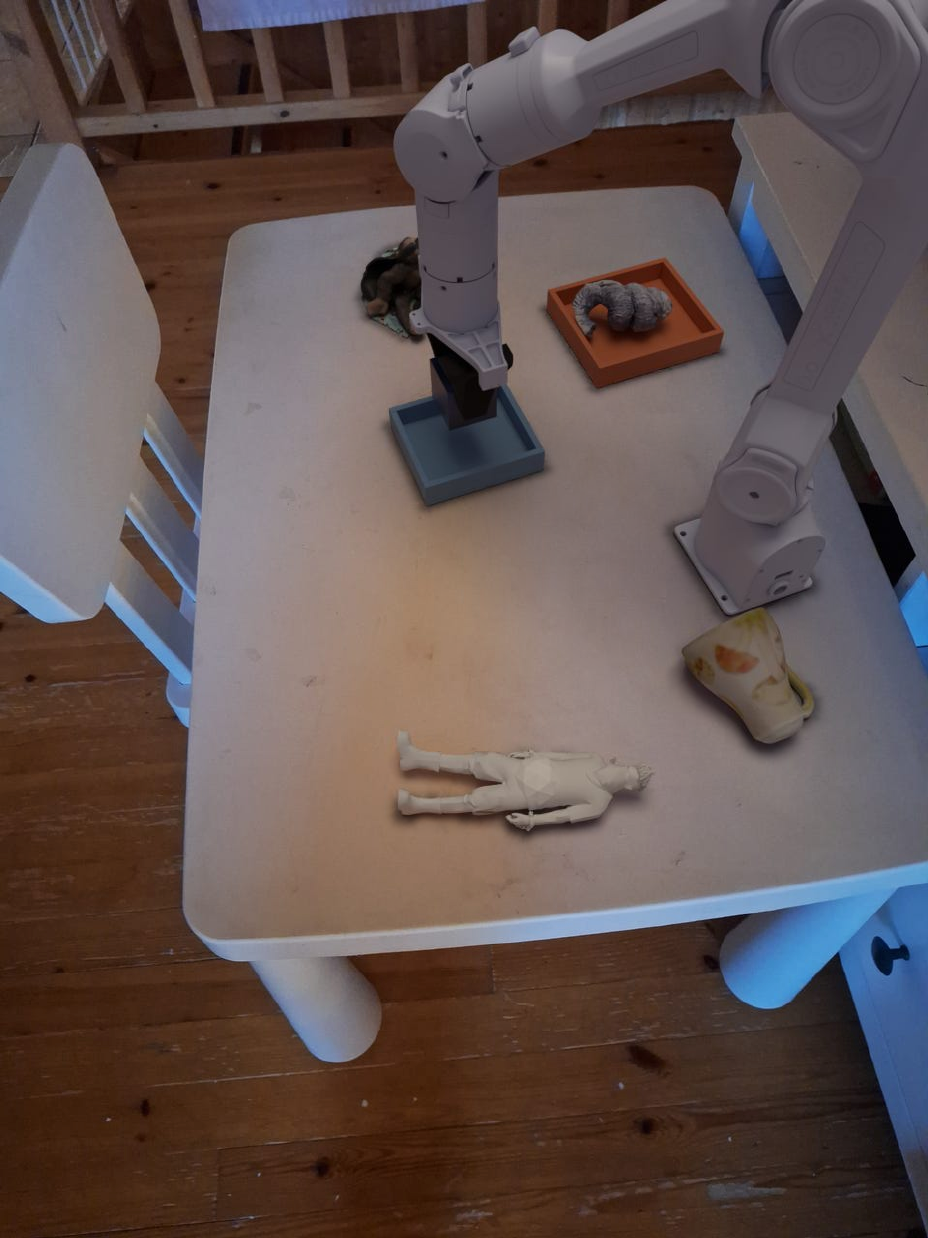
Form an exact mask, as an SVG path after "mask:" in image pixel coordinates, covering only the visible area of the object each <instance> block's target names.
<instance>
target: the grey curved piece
mask: <svg viewBox="0 0 928 1238" xmlns="http://www.w3.org/2000/svg"><path fill="white" fill-rule="evenodd" d="M599 304H602V305H603V306H605V307H606V308H607V309H608V312H607V317H608V322H609V325H610V327H611V328H612V329H613V330H617V331H624V330H625V329H627V328H628V327H629V326H630V327H631V328H632V329H633V330H634V332H642V331H647V330H651V329H653V328H655V325H656V324H658V323H659V322H660V321H661V320H663V319H665V318H666V317H667V316H668V315H669V313H670V312H671V308H672V307H673V304H672V303H671V301H670V298H669V297H668V296H667V294H666V293H665V291H664V290H658V289H657V288H655V287H648V288H645V287H644V286H642V285H640V284H637V283H635V282H634V283H629V284H627V285H625V286H623V285H622V284H621V283H619V282H616V281H613V280H601V281H598V282H594V283H589V284H588V283H587V284H585V285H584V287H583V288H582V289H581V290H580V291H579V292H578V294H577V295H576V296H575V299H574V301H573V302H572V306H573V309H574V314H575V318H576V321H577V323H578V325H579V326H580V328H581V330H582V331H583V333H584V335H587V336H593V332H594V330H595V329H596V328H597V327H596V325H597V324H595V323H594V322H592V321H591V320H590V318H589V316H588V314H589V312H590V311H591V310H592V309H593V308H594V307H596V306H597V305H599Z"/></svg>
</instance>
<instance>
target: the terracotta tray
mask: <svg viewBox="0 0 928 1238" xmlns="http://www.w3.org/2000/svg"><path fill="white" fill-rule="evenodd" d="M601 280H613V281H616V282H619V283H621V284H622V285H623V286H625V285H627V284H629V283H634V282H635V283H637V284H640V285H642V286H644V287H645V288H648V287H655V288H657V289H658V290H664V291H665V293H666V294H667V296H668V297H669V298H670V301H671V303H672V304H673V307H672V308H671V312H670V313H669V315H668V316H667V317H666V318H665V319H663V320H661V321H660V322H659V323H658V324H656V325H655V328H653V329H651V330H647V331H642V332H634V330H633V329H632V328H631V327H630V326H629V327H628V328H627V329H625V330H624V331H617V330H613V329H612V328H611V327H610V325H609V322H608V317H607V312H608V309H607V308H606V307H605V306H603V305H602V304H599V305H597V306H596V307H594V308H593V309H592V310H591V311H590V312H589V314H588V316H589V318H590V320H591V321H592V322H594V323H595V324H597V325H596V327H597V328H596V329H595V330H594V332H593V336H587V335H584V333H583V331H582V330H581V328H580V326H579V325H578V323H577V321H576V318H575V314H574V309H573V306H572V302H573V301H574V299H575V296H576V295H577V294H578V292H579V291H580V290H581V289H582V288H583V287H584V285H585V284H587V283H588V284H589V283H594V282H598V281H601ZM546 296H547V297H546V298H547V299H546V311H547V313H548V315H549V316H550V317H551V319H552V321H553V322H554V324H555V326H556V327H557V328H558V330H559V331H560V333H561V335H562V336H563V338H564V339H565V341H566V342H567V344H568V345H569V347H570V349H571V350H572V352H573V353H574V355H575V356H576V358H577V359H578V361H579V363H580V364H581V365H582V368H583V369H584V370H585V372H586V373H587V375H588V376H589V378H590V379H591V381H592V383H593V384H594V386H595V387H596V388H597V389H599V388H602V387H603V388H604V387H606V386H610V385H612V384H617V383H620V382H623V381H626V380H630V379H632V378H636V377H639V376H643V375H646V374H649V373H653V372H656V371H659V370H663V369H666V368H670V367H673V366H676V365H679V364H682V363H686V362H690V361H693V360H697V359H699V358H703V357H706V356H710V355H713V354H716V353H719V352H720V350H721V346H722V342H723V338H724V335H725V330H724V329H723V328H722V327H721V326H720V324H719V323H718V322H717V320H716V319H715V318H714V316H713V315H712V314H711V313H710V311H708V309H707V308H706V307H705V305H704V304H703V303H702V301H701V300H700V299H699V298H698V297H697V295H696V294H695V292H693V290H692V289H691V288H690V287H689V285H688V284H687V283H686V282H685V280H684V279H683V278H682V277H681V275H680V274H679V272H678V271H677V270H676V268H675V267H674V266H673V265H672V264H671V262H670V261H669V260H668V258H667V257H665V256H664V257H661V258H658V259H654V260H651V261H647V262H644V263H640V264H635V265H632V266H627V267H625V268H621V269H618V270H615V271H610V272H607V273H603V274H600V275H597V276H593V277H589V278H585V279H581V280H578V281H575V282H571V283H568V284H567V283H566V284H564V285H560V286H556V287H553V288H548V289H547V294H546Z"/></svg>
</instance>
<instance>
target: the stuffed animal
mask: <svg viewBox="0 0 928 1238" xmlns="http://www.w3.org/2000/svg"><path fill="white" fill-rule="evenodd" d="M418 255H419V243H418V236H415V237H412V236H406V237H405V238H404V239H402V241H401V242H399V244H398V246H397V247H392V248H390V249H387V250H386V251H385V252H384V253H382V254H381V256H377V257H375V258H373V259H372V260H371V261H369V262H368V264H367V265H366V266H365V271H364V272H363V274H362V278H361V280H360V291H361V294H362V296H361V299H362V301H363V302H364V305H365V310H366V314H367V316H368V317H369V318H370V319H372V320H373V321H376V322H378V323H380V324H382V325H385V326H388V327H389V328H390V329H391V330H393V331H395V332H397V334H400V332H402V334H401V336H403V337H404V338H409V335H413V336H420V334H417V333H416V332H415V331H414V329H413V327H412V325H411V324H410V318H409V314H410V312H412V307H413V305H414V304H415V303H416V302H418V301H421V292H422V280H421V277H420V275H419V263H418Z"/></svg>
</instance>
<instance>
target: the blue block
mask: <svg viewBox="0 0 928 1238" xmlns="http://www.w3.org/2000/svg"><path fill="white" fill-rule="evenodd" d="M453 353H456V352H452V353H448V354H445V355H441V356H438V357H431V358H429V371H430V384H431V396H432V397H433V399H434V401H435V403H436V405H437V407H438V409H439V411H440V413H441V415H442V417H443V419H444V421H445V423H446V425H447V427H448V429H449V431H451V430H454V429H458V428H461V427H464V426H468V425H471V424H475V423H478V422H481V421H485V420H488V419H491V418H495V417H497V387H496V389H495V391H494V394H493V396H492V399H491V402H490V405H489V408H488V411H487V413H486V415H483V416H480V417H476V418H473V419H470V420H464V419H463V417H462V415H461V413H460V410H459V408H458V404H457V400H456V395H455V391H454V387H453V384H452V383H451V382H450V381H449V379H448V378H447V376H446V375H445V373H444V371H443V369H442V367H441V365H440V363H439V360H438V358H439V357H442V356H446V355H449V354H453Z"/></svg>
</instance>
